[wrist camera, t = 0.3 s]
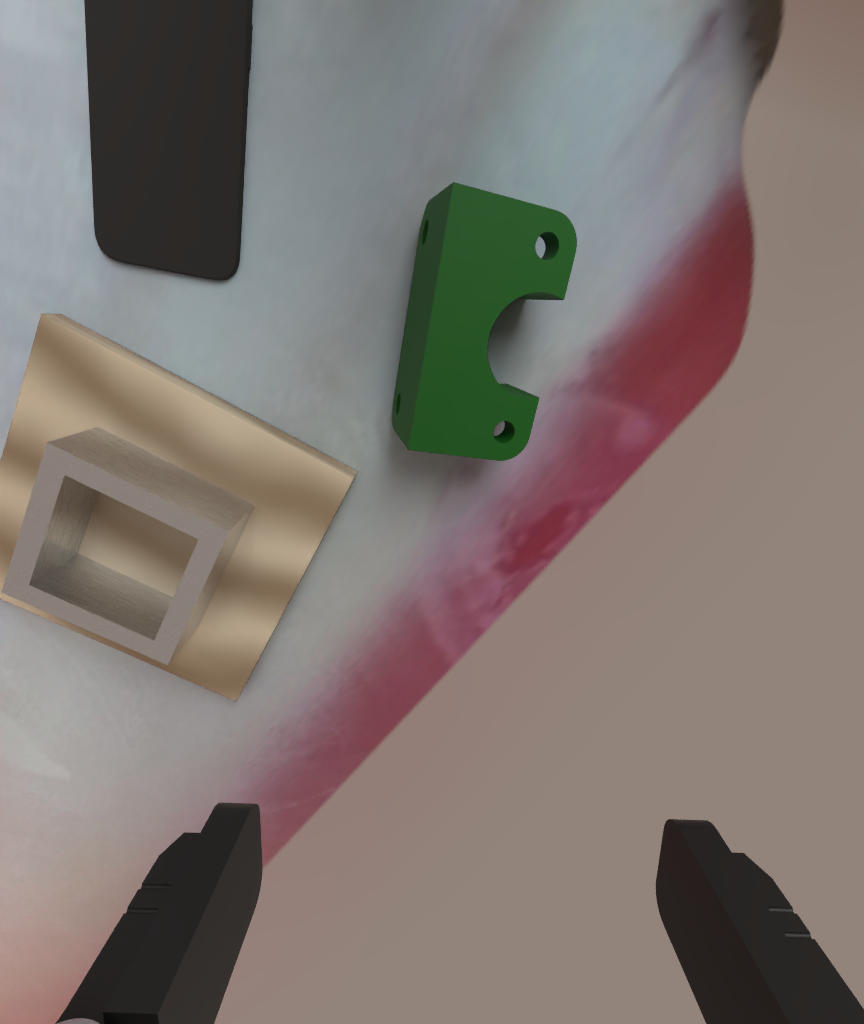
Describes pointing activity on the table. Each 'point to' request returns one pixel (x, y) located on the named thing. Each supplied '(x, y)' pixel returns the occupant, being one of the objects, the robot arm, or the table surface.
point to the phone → (169, 130)
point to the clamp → (473, 319)
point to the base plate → (195, 448)
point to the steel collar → (103, 591)
